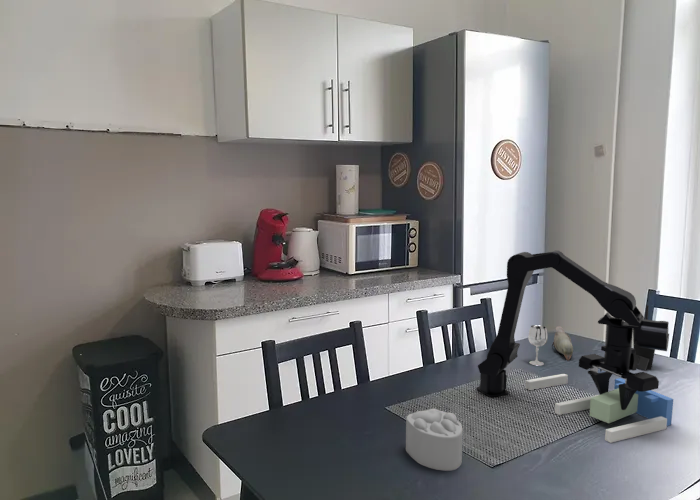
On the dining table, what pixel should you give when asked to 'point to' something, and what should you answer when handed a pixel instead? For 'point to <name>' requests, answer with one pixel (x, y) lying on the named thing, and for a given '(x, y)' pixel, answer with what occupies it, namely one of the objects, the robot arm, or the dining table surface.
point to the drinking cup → (644, 351)
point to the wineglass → (537, 340)
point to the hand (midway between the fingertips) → (614, 405)
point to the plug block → (611, 406)
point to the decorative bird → (563, 343)
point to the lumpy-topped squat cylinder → (434, 439)
